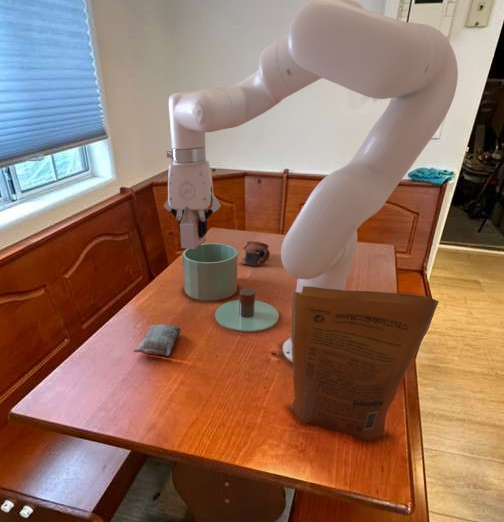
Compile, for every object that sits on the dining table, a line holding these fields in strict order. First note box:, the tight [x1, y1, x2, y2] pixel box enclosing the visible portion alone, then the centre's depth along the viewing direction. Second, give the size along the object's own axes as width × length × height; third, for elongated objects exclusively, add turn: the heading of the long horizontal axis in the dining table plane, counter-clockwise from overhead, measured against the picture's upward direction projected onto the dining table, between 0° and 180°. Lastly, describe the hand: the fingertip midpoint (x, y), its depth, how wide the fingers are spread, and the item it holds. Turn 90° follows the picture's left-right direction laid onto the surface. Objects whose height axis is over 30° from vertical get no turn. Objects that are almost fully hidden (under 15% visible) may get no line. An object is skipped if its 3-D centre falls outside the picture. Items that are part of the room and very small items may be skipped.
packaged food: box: [133, 324, 182, 357], centre depth 96 cm, size 9×12×5 cm
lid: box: [214, 288, 280, 333], centre depth 105 cm, size 17×17×8 cm
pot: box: [182, 242, 239, 301], centre depth 119 cm, size 16×16×12 cm
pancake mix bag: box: [290, 286, 440, 441], centre depth 65 cm, size 7×19×28 cm, turn 62°
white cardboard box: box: [179, 207, 207, 249], centre depth 98 cm, size 4×7×10 cm, turn 153°
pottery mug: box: [241, 240, 271, 267], centre depth 137 cm, size 12×10×8 cm
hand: (193, 235), depth 99 cm, fingers closed on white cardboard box, 4 cm apart
